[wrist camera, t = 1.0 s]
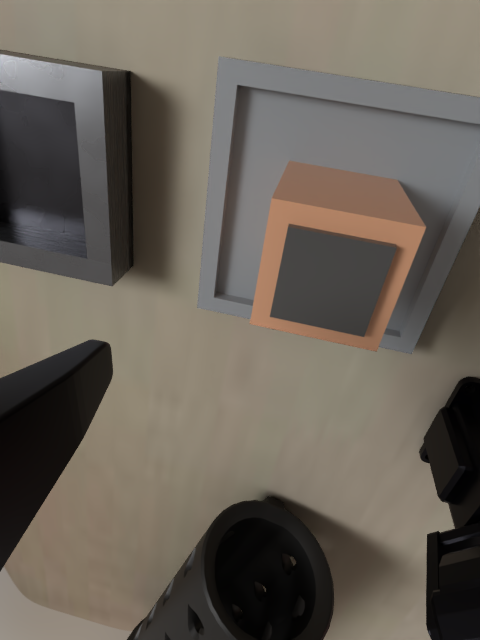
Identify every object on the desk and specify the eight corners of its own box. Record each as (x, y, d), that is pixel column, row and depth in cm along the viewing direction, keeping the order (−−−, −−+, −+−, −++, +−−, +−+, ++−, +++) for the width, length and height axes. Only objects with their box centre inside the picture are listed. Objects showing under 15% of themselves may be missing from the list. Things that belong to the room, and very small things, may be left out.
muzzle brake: (337, 515, 30) (341, 698, 21) (212, 636, 45) (184, 770, 36) (220, 465, 29) (174, 630, 21) (133, 604, 45) (86, 732, 36)
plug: (397, 179, 16) (428, 230, 11) (364, 277, 19) (377, 356, 14) (289, 160, 17) (270, 200, 12) (271, 258, 19) (248, 328, 14)
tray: (513, 102, 15) (526, 104, 14) (407, 340, 21) (411, 353, 20) (225, 57, 16) (218, 56, 15) (203, 296, 22) (197, 307, 21)
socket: (130, 71, 17) (101, 70, 15) (133, 265, 22) (112, 286, 20) (-65, 38, 18) (-118, 34, 16) (-20, 233, 22) (-56, 250, 20)
